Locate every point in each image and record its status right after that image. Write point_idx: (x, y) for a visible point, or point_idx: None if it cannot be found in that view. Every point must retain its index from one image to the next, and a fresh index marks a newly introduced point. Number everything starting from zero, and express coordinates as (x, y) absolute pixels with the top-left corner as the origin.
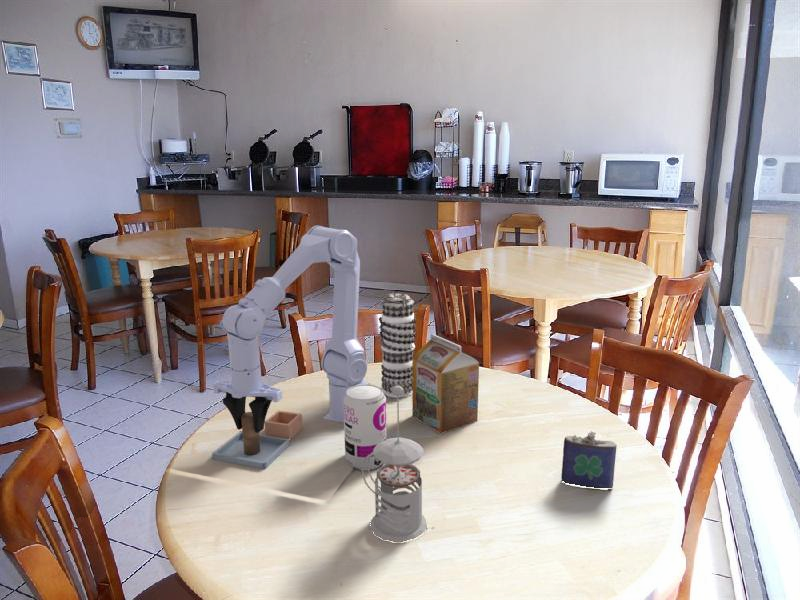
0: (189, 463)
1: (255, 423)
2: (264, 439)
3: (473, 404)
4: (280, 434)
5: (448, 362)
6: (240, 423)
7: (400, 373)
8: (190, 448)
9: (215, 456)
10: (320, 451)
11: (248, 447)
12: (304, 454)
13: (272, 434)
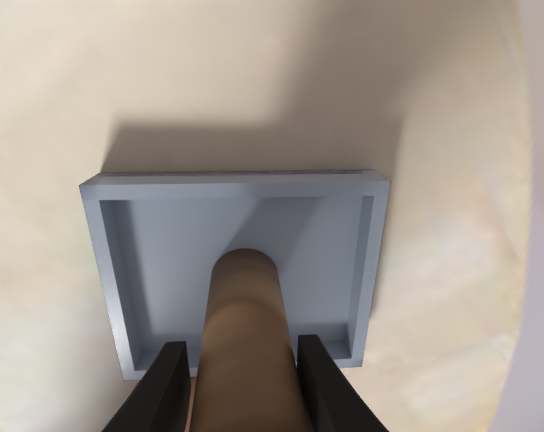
0: (468, 124)
1: (149, 396)
2: None
3: None
4: (192, 396)
5: None
6: (304, 374)
7: None
8: (511, 227)
9: (367, 177)
10: (9, 365)
11: (237, 269)
12: (49, 331)
13: None
